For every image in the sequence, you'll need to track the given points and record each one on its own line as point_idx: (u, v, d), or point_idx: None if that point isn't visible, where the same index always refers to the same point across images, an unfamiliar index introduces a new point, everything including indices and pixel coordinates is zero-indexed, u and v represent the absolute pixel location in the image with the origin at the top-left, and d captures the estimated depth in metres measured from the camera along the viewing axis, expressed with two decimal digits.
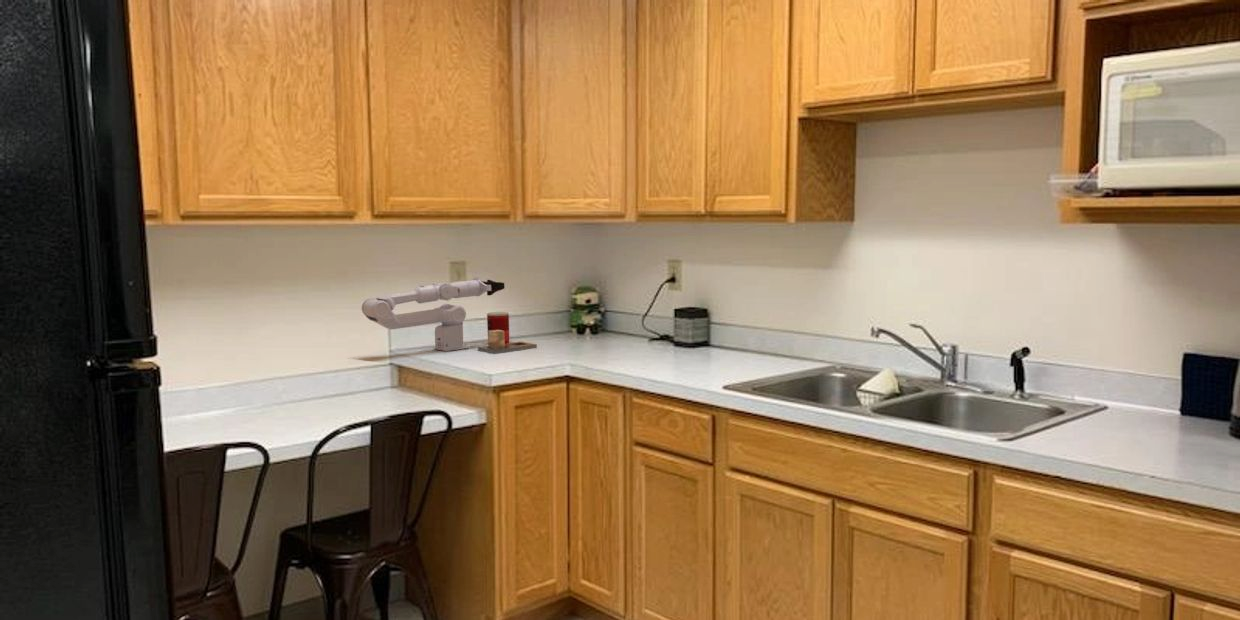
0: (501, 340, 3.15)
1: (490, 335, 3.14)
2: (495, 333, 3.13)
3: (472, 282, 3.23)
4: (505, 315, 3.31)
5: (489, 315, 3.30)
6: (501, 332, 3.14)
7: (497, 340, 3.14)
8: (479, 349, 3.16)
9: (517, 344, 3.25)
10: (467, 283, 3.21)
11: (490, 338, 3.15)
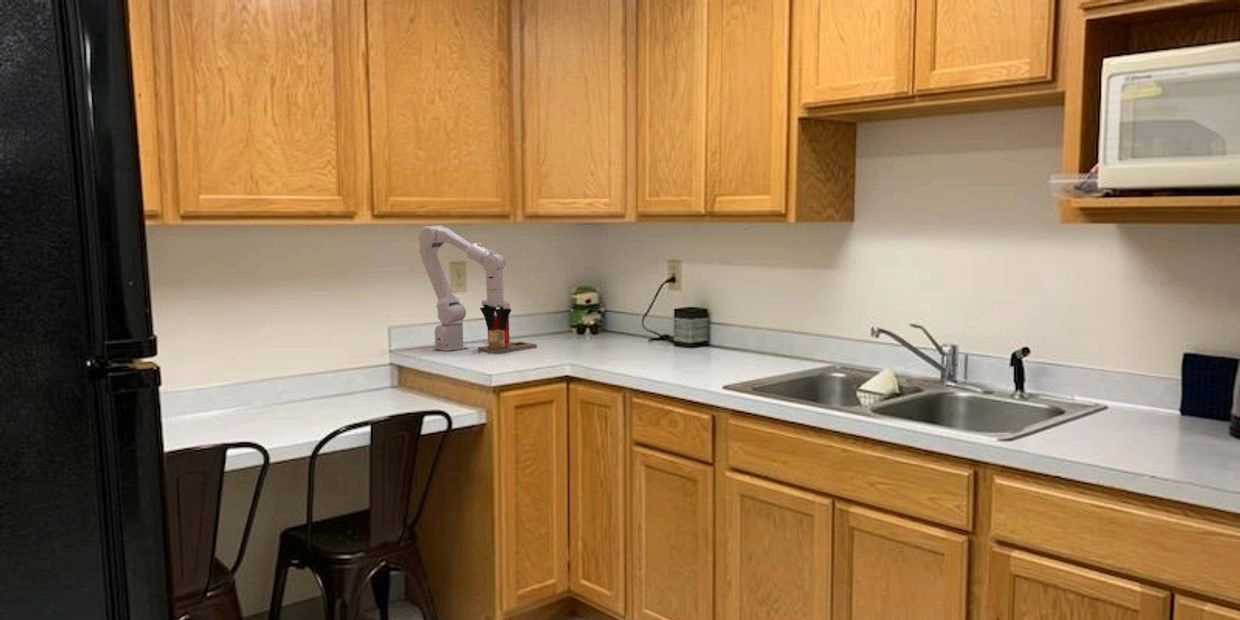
0: (501, 340, 3.15)
1: (490, 335, 3.14)
2: (495, 333, 3.13)
3: None
4: None
5: None
6: (501, 332, 3.14)
7: (497, 340, 3.14)
8: (479, 349, 3.16)
9: (517, 344, 3.25)
10: None
11: (490, 338, 3.15)
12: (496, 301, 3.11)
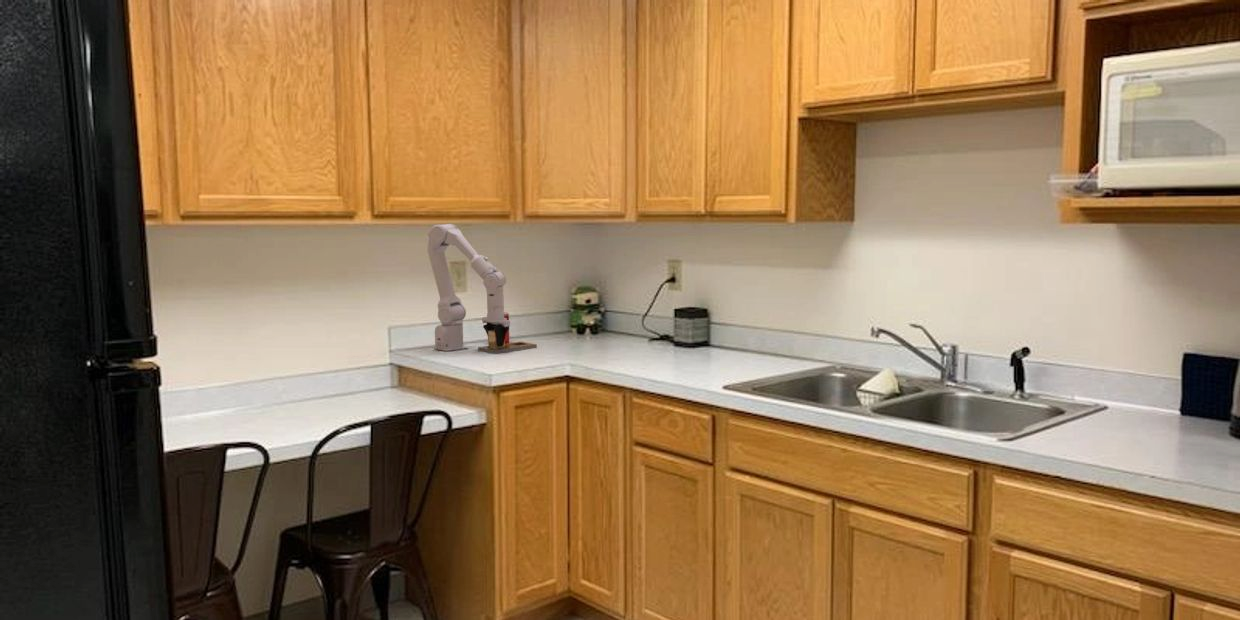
0: None
1: (490, 334, 3.14)
2: None
3: (503, 312, 3.15)
4: (505, 315, 3.31)
5: None
6: None
7: None
8: (479, 349, 3.16)
9: (517, 344, 3.25)
10: (503, 306, 3.14)
11: (490, 338, 3.15)
12: (496, 319, 3.12)
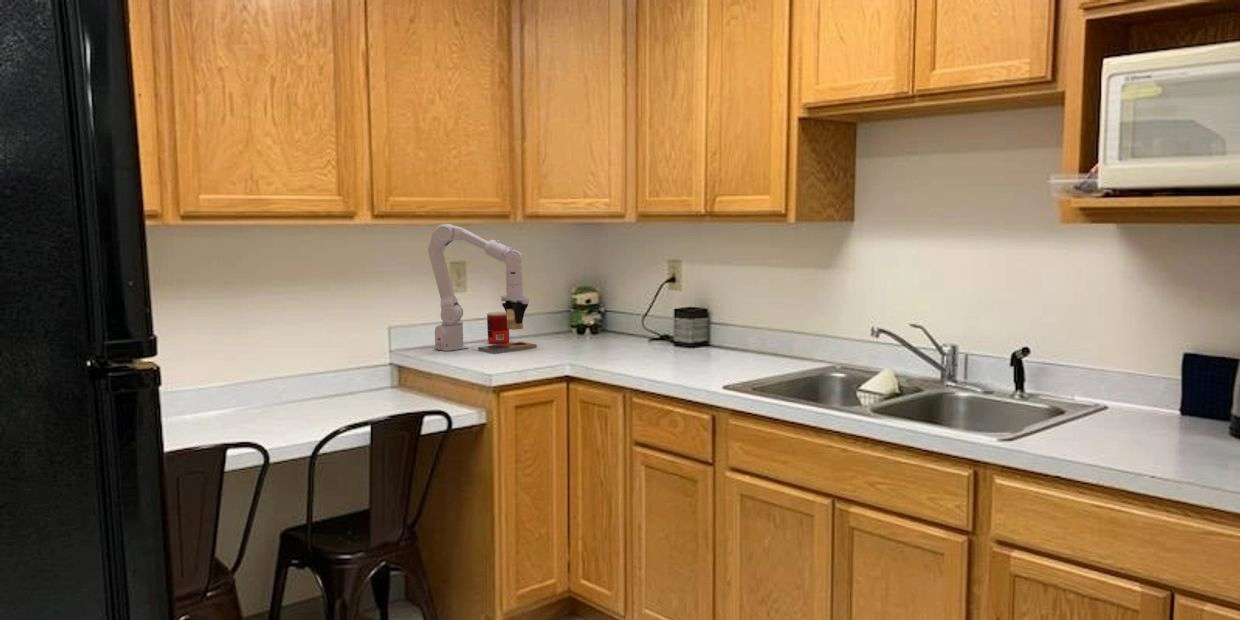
0: None
1: (509, 313, 3.19)
2: (513, 311, 3.17)
3: (522, 289, 3.19)
4: (505, 315, 3.31)
5: (489, 315, 3.30)
6: None
7: None
8: (479, 349, 3.16)
9: (517, 344, 3.25)
10: None
11: (508, 316, 3.19)
12: (515, 296, 3.16)
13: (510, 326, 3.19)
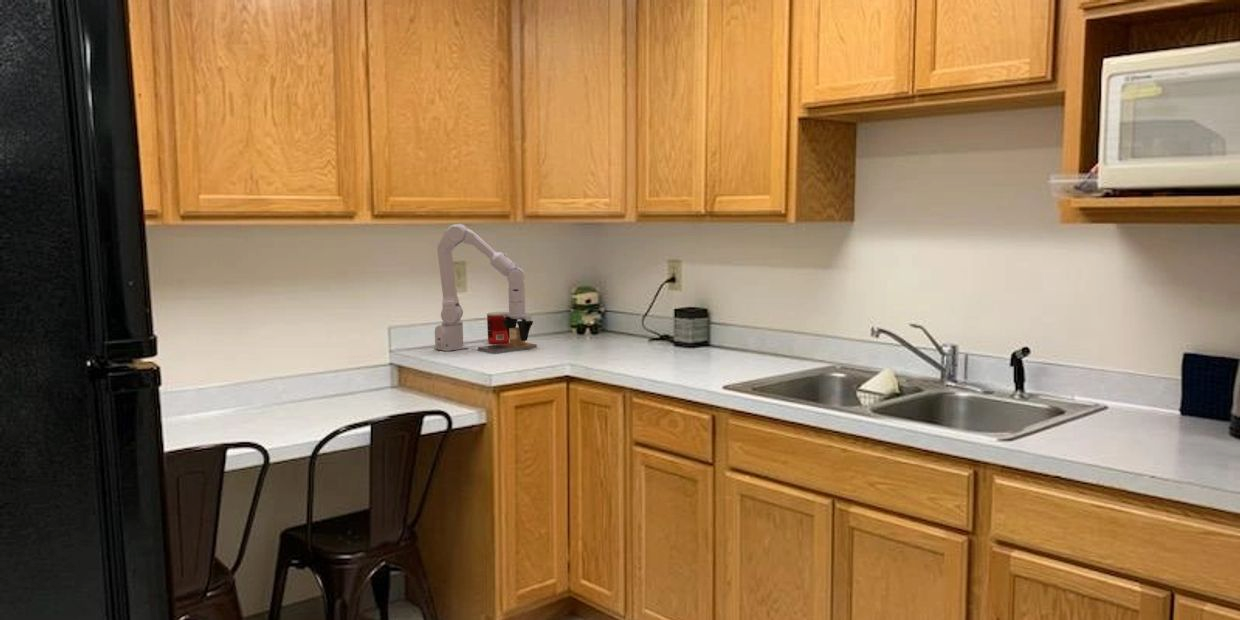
0: None
1: (512, 332, 3.20)
2: (516, 330, 3.19)
3: None
4: None
5: (489, 315, 3.30)
6: None
7: (518, 338, 3.19)
8: (479, 349, 3.16)
9: None
10: (524, 300, 3.20)
11: (511, 335, 3.21)
12: (518, 313, 3.18)
13: None
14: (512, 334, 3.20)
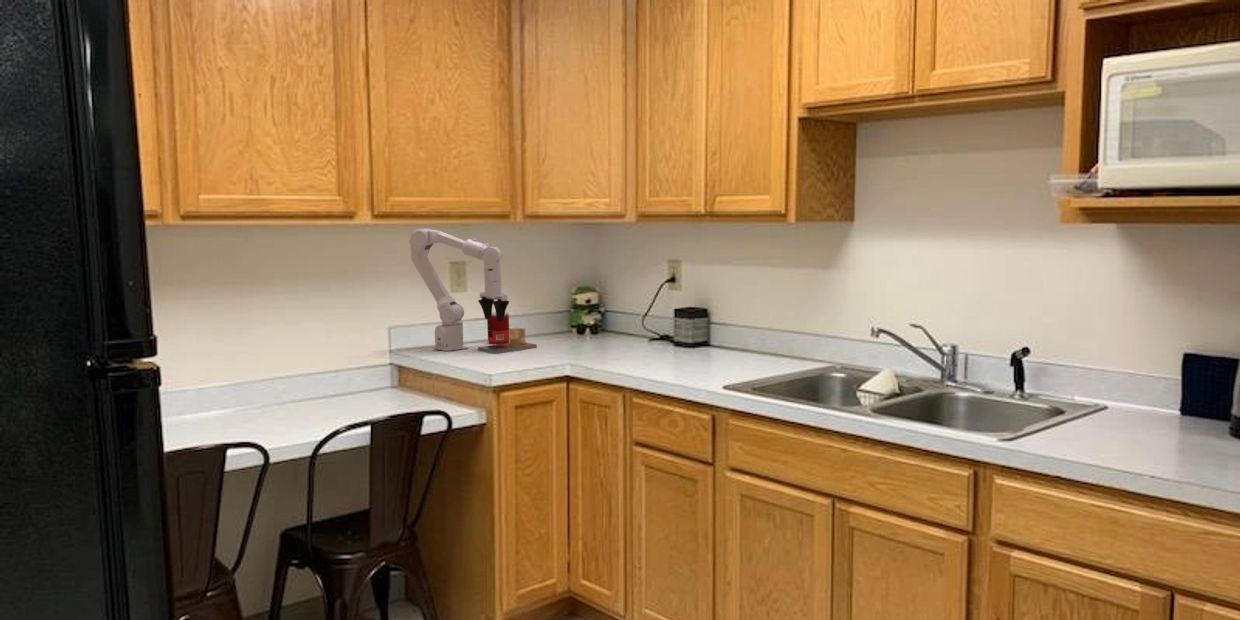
0: (522, 337, 3.20)
1: (512, 332, 3.20)
2: (516, 330, 3.19)
3: None
4: (505, 315, 3.31)
5: None
6: (522, 329, 3.20)
7: (518, 338, 3.19)
8: (479, 349, 3.16)
9: None
10: (500, 280, 3.17)
11: (511, 335, 3.21)
12: (494, 293, 3.15)
13: None
14: (512, 334, 3.20)
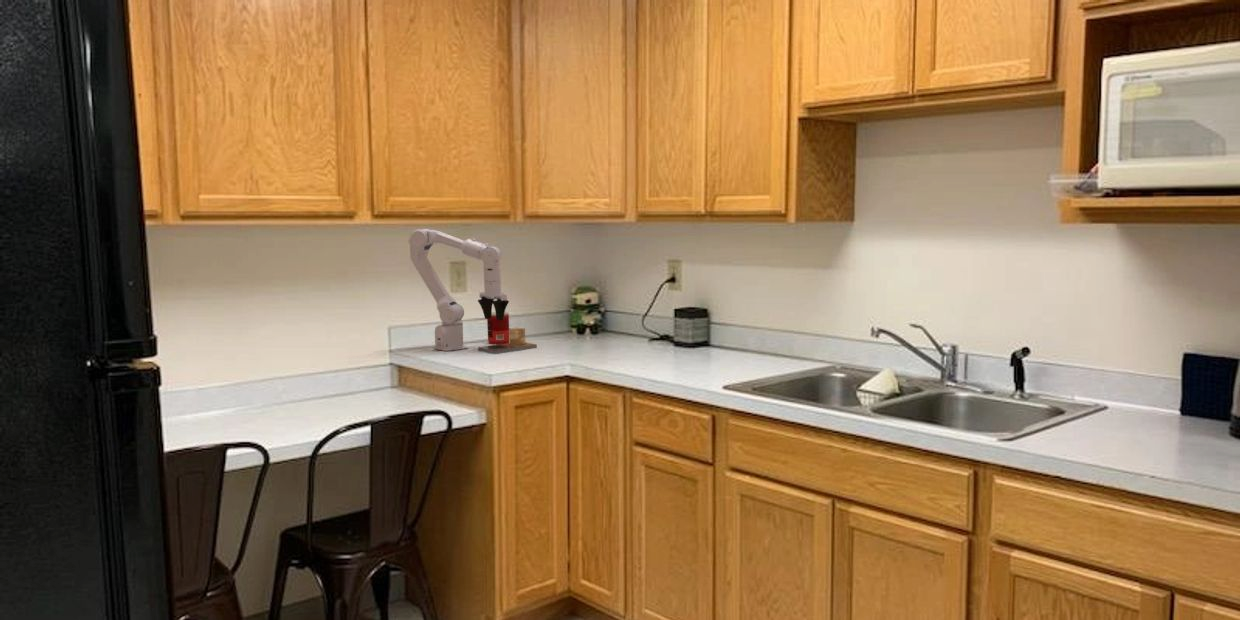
0: (522, 337, 3.20)
1: (512, 332, 3.20)
2: (516, 330, 3.19)
3: (500, 286, 3.18)
4: (505, 315, 3.31)
5: None
6: (522, 329, 3.20)
7: (518, 338, 3.19)
8: (479, 349, 3.16)
9: None
10: (500, 280, 3.17)
11: (511, 335, 3.21)
12: (493, 293, 3.15)
13: None
14: (512, 334, 3.20)
